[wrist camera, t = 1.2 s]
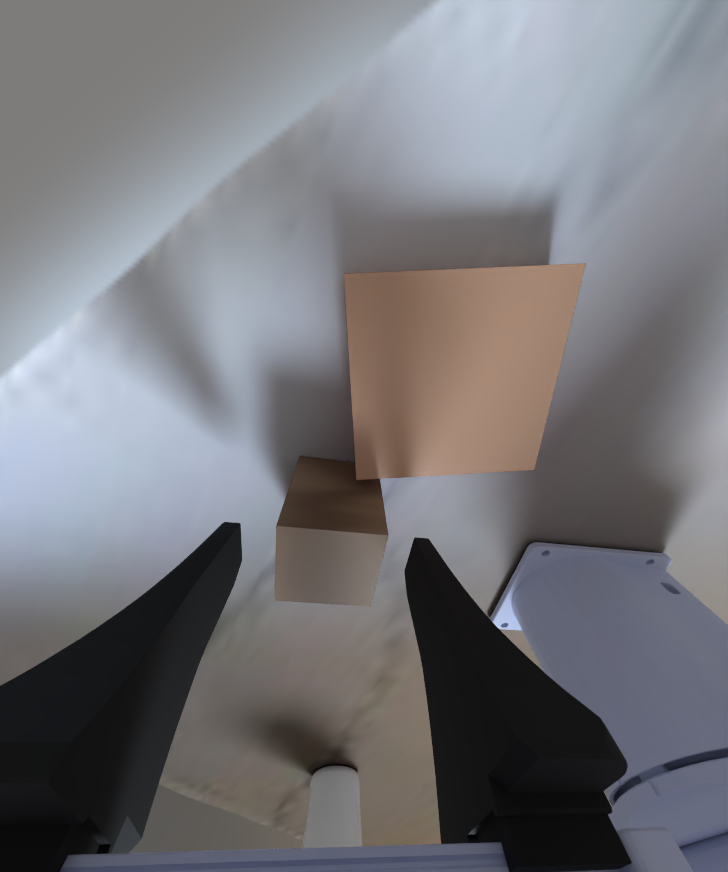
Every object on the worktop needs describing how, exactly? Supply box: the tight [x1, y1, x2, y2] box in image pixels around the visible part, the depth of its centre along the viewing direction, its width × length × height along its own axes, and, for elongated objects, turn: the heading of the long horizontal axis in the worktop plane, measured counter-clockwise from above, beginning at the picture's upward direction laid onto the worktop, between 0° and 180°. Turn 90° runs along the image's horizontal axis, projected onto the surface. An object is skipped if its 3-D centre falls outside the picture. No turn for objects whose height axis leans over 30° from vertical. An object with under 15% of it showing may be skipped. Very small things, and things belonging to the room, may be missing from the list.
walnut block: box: [275, 456, 388, 606], centre depth 13 cm, size 4×4×5 cm
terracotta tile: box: [344, 263, 586, 480], centre depth 12 cm, size 8×8×2 cm
